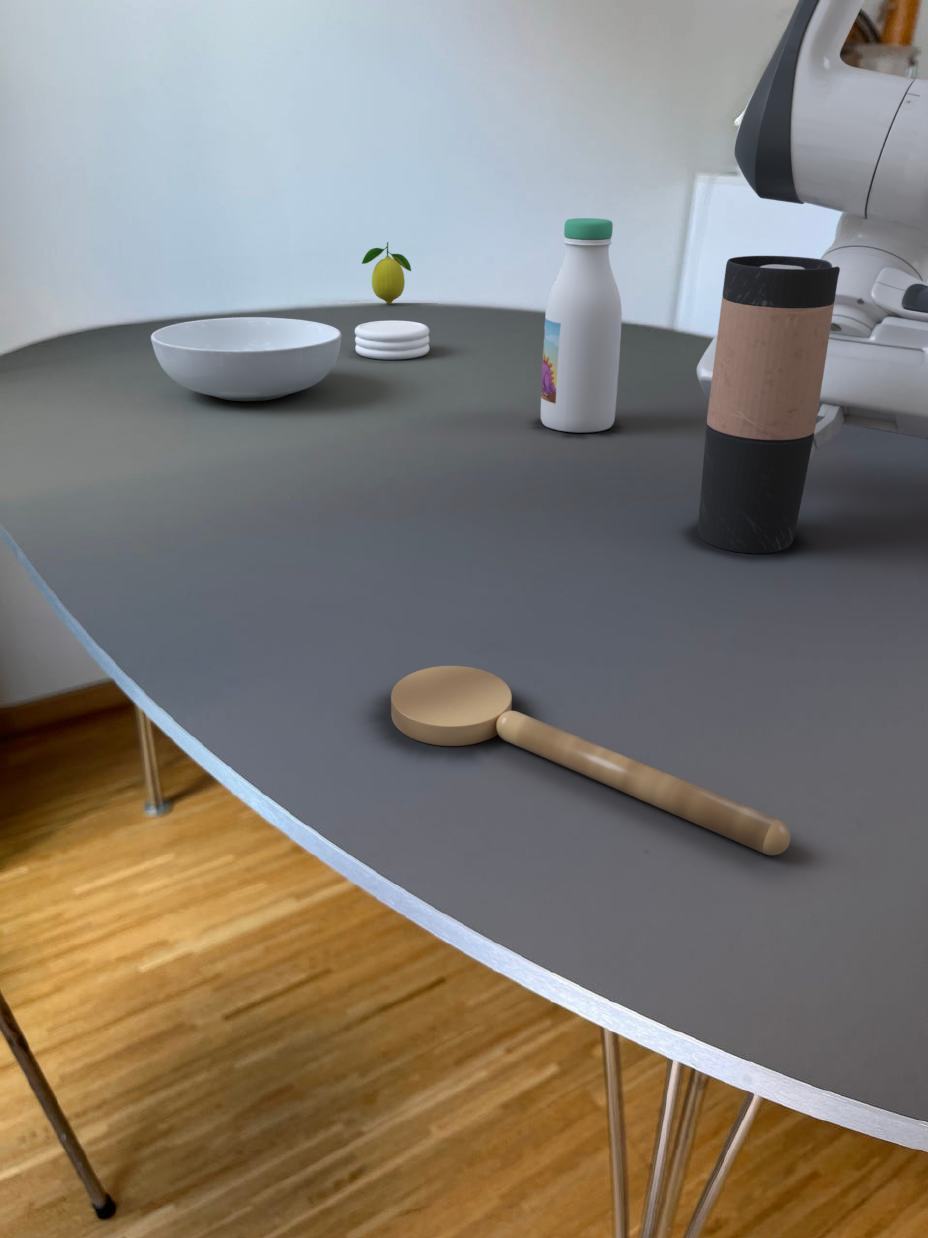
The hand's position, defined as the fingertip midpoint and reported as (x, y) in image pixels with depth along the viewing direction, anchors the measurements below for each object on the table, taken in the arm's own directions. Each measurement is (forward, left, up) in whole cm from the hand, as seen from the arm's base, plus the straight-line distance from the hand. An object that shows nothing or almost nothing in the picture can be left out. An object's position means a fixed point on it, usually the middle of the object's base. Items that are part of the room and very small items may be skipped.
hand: (787, 458), depth 80 cm
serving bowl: (+64, 0, -5) cm, 64 cm away
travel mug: (0, +5, -5) cm, 7 cm away
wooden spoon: (-6, +40, -5) cm, 41 cm away
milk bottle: (+28, -13, -5) cm, 31 cm away
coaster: (+67, -27, -5) cm, 72 cm away
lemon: (+95, -56, -5) cm, 110 cm away
